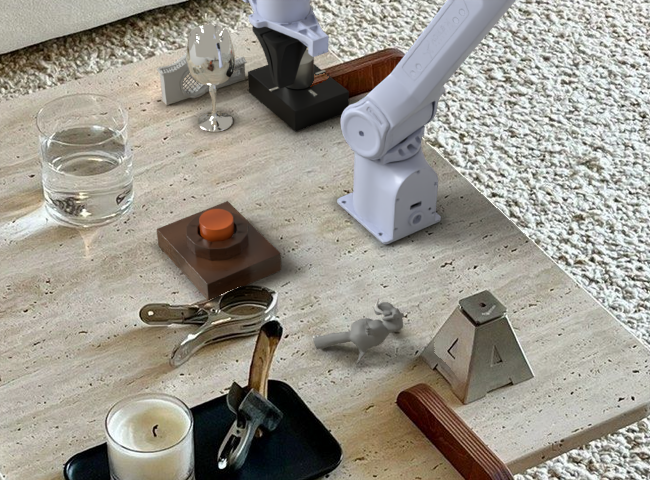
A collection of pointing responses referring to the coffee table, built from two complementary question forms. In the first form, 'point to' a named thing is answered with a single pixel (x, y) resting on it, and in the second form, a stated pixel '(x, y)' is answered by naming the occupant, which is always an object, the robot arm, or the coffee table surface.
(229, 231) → the button
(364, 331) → the grey bird figurine
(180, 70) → the lattice window wall
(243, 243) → the button block
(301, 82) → the dial
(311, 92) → the dial panel
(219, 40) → the wineglass
